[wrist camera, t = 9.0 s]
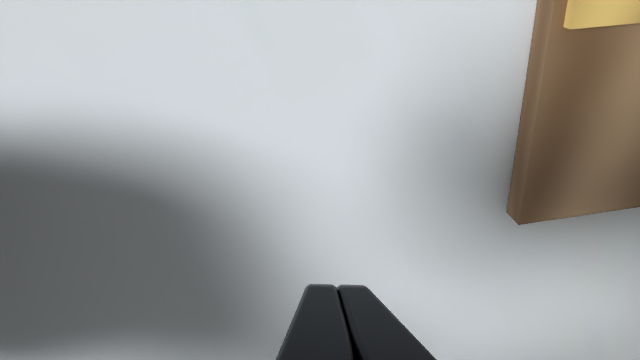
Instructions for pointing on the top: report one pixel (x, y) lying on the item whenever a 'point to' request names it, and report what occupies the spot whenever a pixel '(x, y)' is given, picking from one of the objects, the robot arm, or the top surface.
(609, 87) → the tuner board
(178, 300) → the top surface
